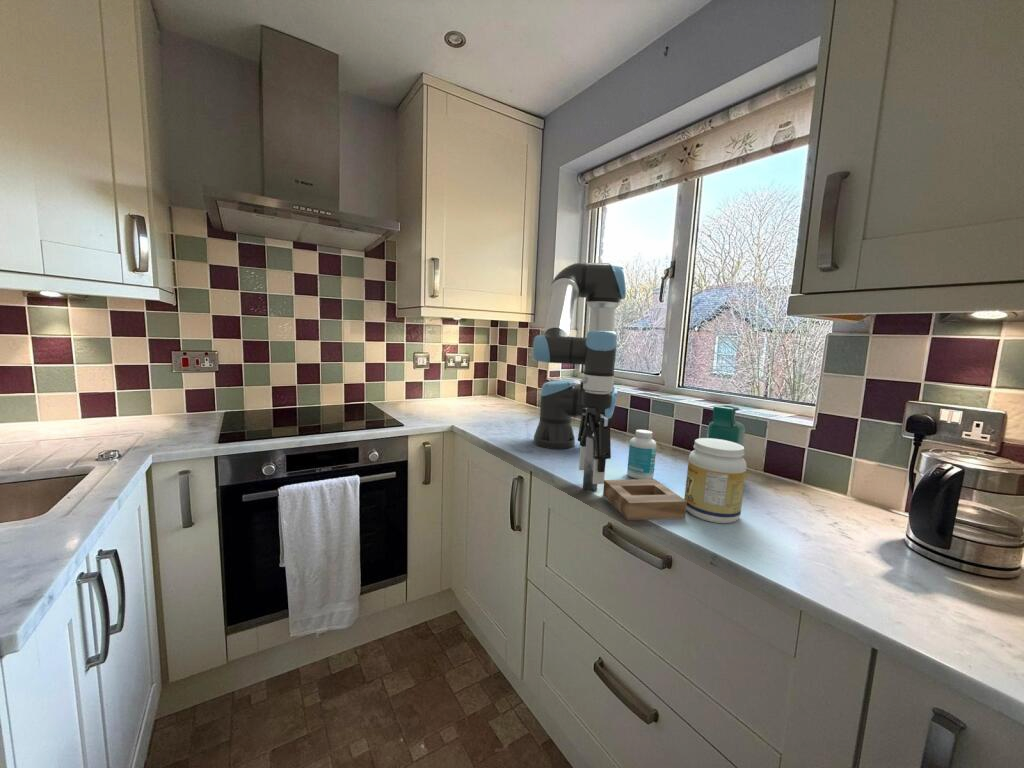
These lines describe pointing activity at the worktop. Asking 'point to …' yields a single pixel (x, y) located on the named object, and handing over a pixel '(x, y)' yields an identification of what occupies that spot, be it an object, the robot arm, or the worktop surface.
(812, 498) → the worktop surface
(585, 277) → the robot arm
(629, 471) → the pill bottle
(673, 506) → the slot block
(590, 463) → the pin
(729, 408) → the green bottle
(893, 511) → the worktop surface
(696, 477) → the supplement tub
